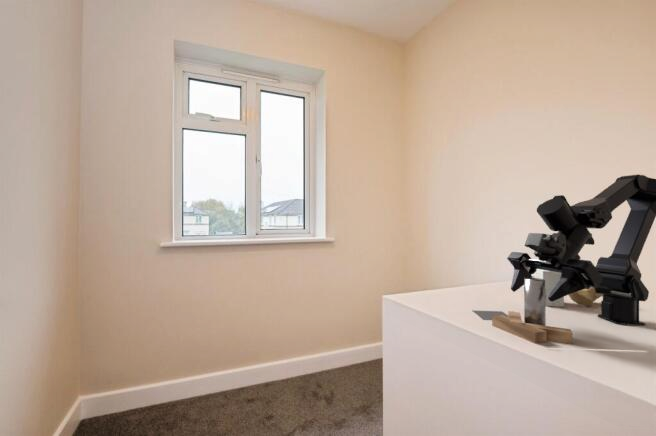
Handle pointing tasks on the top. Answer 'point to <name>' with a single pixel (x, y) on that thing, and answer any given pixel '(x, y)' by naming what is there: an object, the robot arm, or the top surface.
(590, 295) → the tan curved shape
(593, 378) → the top surface
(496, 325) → the v block
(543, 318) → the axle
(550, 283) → the small box
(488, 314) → the mat
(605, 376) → the top surface
